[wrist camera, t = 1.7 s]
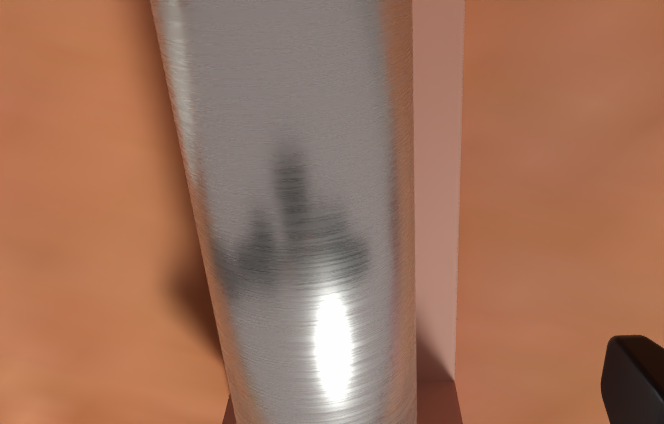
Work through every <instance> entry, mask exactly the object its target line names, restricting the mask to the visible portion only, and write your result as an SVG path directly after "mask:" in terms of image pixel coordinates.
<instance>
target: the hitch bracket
mask: <svg viewBox="0 0 664 424" xmlns="http://www.w3.org/2000/svg"><path fill="white" fill-rule="evenodd" d="M464 16H465V0H412V17H413V107H414V197H415V287H416V376H417V424H463V422H462V417H461V412H460V407H459V402H458V397H457V392H456V387H455V382H454V377H455V341H456V304H457V268H458V232H459V196H460V160H461V124H462V88H463V52H464ZM222 424H237V423H236V418H235V413H234V408H233V403H232V398H231V394H230V395H229V399H228V403H227V407H226V411H225V415H224V419H223V423H222Z"/></svg>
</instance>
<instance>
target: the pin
mask: <svg viewBox="0 0 664 424" xmlns="http://www.w3.org/2000/svg"><path fill="white" fill-rule="evenodd" d="M150 3H151V8H152V13H153V18H154V23H155V27H156V32H157V37H158V42H159V47H160V52H161V57H162V62H163V67H164V71H165V76H166V81H167V86H168V91H169V96H170V101H171V106H172V110H173V115H174V120H175V125H176V130H177V135H178V140H179V145H180V150H181V154H182V159H183V164H184V169H185V174H186V179H187V184H188V189H189V193H190V198H191V203H192V208H193V213H194V218H195V223H196V228H197V233H198V237H199V242H200V247H201V252H202V257H203V262H204V267H205V272H206V276H207V281H208V286H209V291H210V296H211V301H212V306H213V311H214V316H215V320H216V325H217V330H218V335H219V340H220V345H221V350H222V355H223V359H224V364H225V369H226V374H227V379H228V384H229V389H230V394H231V398H232V403H233V408H234V413H235V418H236V423H237V424H417V376H416V287H415V197H414V107H413V17H412V0H150Z"/></svg>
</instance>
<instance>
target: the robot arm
mask: <svg viewBox="0 0 664 424" xmlns="http://www.w3.org/2000/svg"><path fill="white" fill-rule="evenodd" d="M601 393H602V398H603V402H604V405H605V408H606V411H607V415H608V418H609V421H610V424H664V348H663V347H661V346H659V345H658V344H656V343H655V342H653V341H652V340H650V339H649V338H647V337H645V336H642V335H620V336H614V337H612V338H610V340H609V342H608V345H607V350H606V355H605V361H604V367H603V372H602V378H601Z"/></svg>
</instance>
